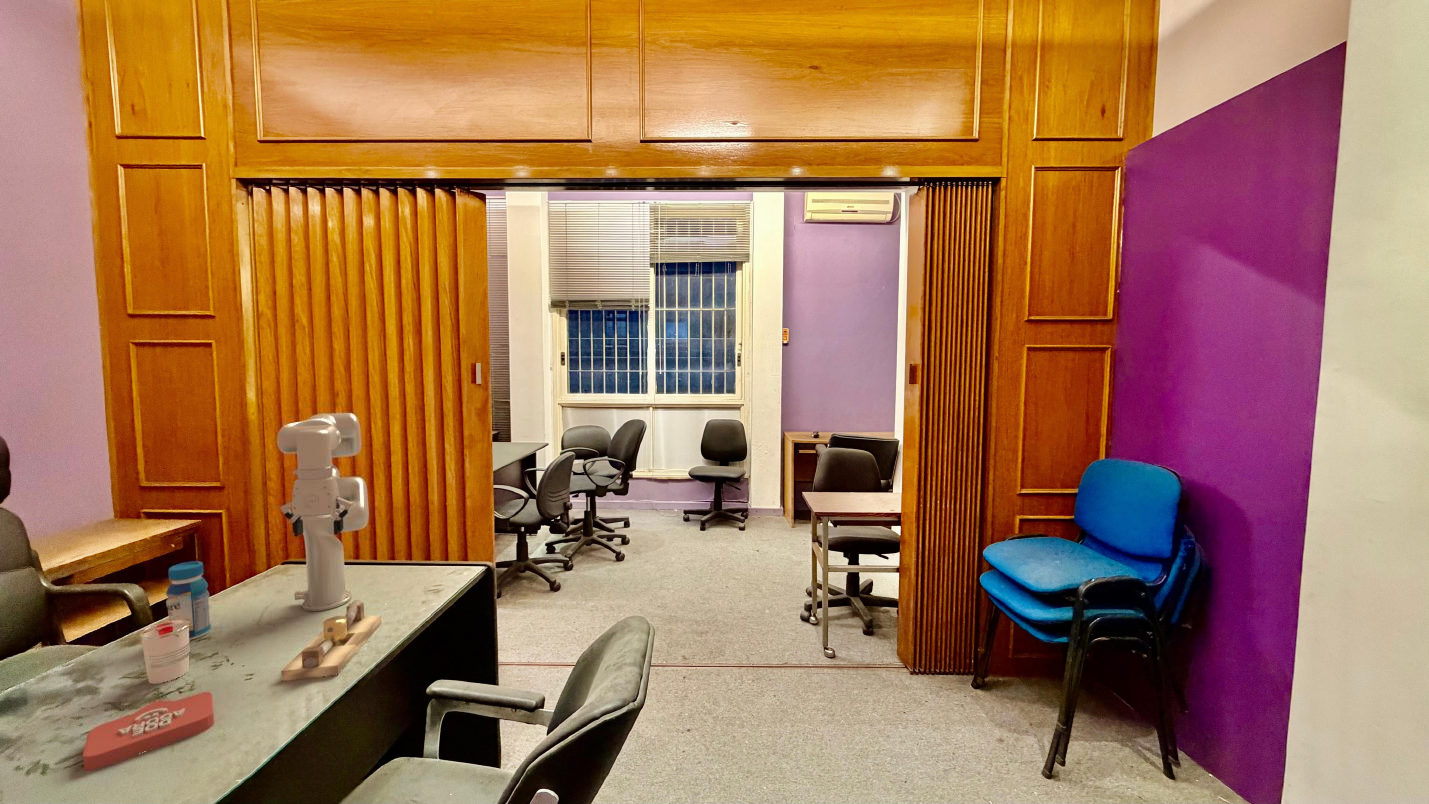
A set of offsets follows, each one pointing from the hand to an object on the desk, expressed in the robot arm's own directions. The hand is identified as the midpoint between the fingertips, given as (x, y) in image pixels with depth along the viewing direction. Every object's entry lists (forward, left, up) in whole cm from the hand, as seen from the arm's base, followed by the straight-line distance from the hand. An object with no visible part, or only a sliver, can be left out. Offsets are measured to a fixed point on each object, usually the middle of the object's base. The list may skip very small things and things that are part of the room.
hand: (318, 534), depth 147 cm
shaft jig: (+8, -11, -28) cm, 31 cm away
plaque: (-14, -38, -29) cm, 50 cm away
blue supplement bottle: (-35, +5, -28) cm, 45 cm away
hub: (+8, -11, -28) cm, 31 cm away
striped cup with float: (-26, -16, -28) cm, 42 cm away
